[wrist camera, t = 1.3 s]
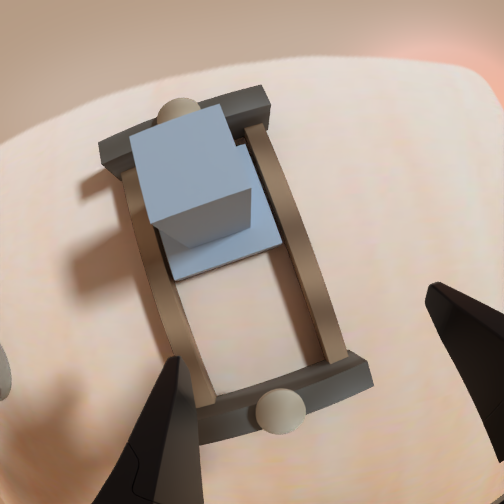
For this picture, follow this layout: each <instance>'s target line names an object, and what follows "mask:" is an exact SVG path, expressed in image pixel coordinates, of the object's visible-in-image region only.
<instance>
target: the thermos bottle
mask: <svg viewBox="0 0 504 504" xmlns="http://www.w3.org/2000/svg"><path fill="white" fill-rule="evenodd" d="M10 389H11V372H10V367H9V363H8V360H7V357H6V355H5V352H4V350H3V348H2V346H1V345H0V401H1V400H3V399H5V398H6V397H7V396H8V394H9V392H10Z"/></svg>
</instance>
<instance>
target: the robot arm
mask: <svg viewBox="0 0 504 504" xmlns="http://www.w3.org/2000/svg"><path fill="white" fill-rule="evenodd" d="M425 305H426V308H427V310H428V312H429V314H430V317H431V319H432V321H433V323H434V325H435V328H436V330H437V332H438V334H439V336H440V338H441V340H442V342H443V344H444V346H445V348H446V349H447V351H448V353H449V355H450V357H451V359H452V360H453V362H454V364H455V366H456V368H457V370H458V372H459V374H460V376H461V378H462V380H463V382H464V384H465V386H466V388H467V390H468V392H469V394H470V396H471V398H472V400H473V402H474V404H475V406H476V408H477V411H478V413H479V415H480V417H481V419H482V422H483V424H484V427H485V429H486V431H487V434H488V436H489V438H490V441H491V443H492V446H493V448H494V451H495V454H496V456H497V459H498V461H499V463H501V462H502V461H504V314H503V313H501V312H499V311H497V310H495V309H493V308H491V307H489V306H487V305H485V304H483V303H481V302H479V301H477V300H475V299H473V298H471V297H469V296H467V295H465V294H463V293H461V292H459V291H457V290H455V289H453V288H451V287H449V286H447V285H445V284H443V283H441V282H435V283H432V284H430V285H429V287H428V290H427V294H426V298H425ZM92 504H204V499H203V489H202V478H201V466H200V453H199V438H198V422H197V411H196V405H195V400H194V394H193V388H192V382H191V375H190V371H189V369H188V367H187V365H186V364H185V362H184V360H183V359H182V357H181V356H173V357H169V358H168V359H167V361H166V363H165V365H164V367H163V369H162V371H161V373H160V375H159V377H158V379H157V381H156V383H155V385H154V387H153V389H152V391H151V393H150V395H149V397H148V400H147V402H146V404H145V406H144V408H143V410H142V412H141V414H140V416H139V418H138V420H137V422H136V424H135V427H134V429H133V431H132V433H131V435H130V437H129V439H128V442H127V443H126V445H125V447H124V450H123V452H122V454H121V456H120V458H119V460H118V462H117V463H116V465H115V467H114V469H113V470H112V472H111V474H110V475H109V477H108V479H107V480H106V482H105V484H104V485H103V487H102V488H101V490H100V492H99V493H98V495H97V496H96V498H95V500H94V501H93V502H92ZM491 504H504V494H503V495H502V496H500V497H499V498H498V499H497V500H495V501H494V502H493V503H491Z"/></svg>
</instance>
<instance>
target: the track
mask: <svg viewBox="0 0 504 504" xmlns="http://www.w3.org/2000/svg"><path fill="white" fill-rule="evenodd" d="M217 104H220V106H221V109H222V111H223V114H224V116H225V119H226V121H227V124H228V127H229V129H230V132H231V134H232V137H233V140H235V139H238V138H241V137H245V139H246V141H247V144H248V146H249V149H250V151H251V154H252V157H253V159H254V162H255V164H256V167H257V169H258V172H259V175H260V177H261V180H262V182H263V185H264V188H265V190H266V193H267V196H268V198H269V201H270V203H271V206H272V209H273V211H274V214H275V217H276V220H277V222H278V225H279V228H280V230H281V233H282V236H283V239H284V241H285V244H286V247H287V250H288V252H289V255H290V258H291V261H292V264H293V266H294V269H295V272H296V275H297V278H298V281H299V283H300V286H301V289H302V292H303V295H304V298H305V301H306V304H307V306H308V309H309V312H310V315H311V318H312V321H313V324H314V327H315V330H316V333H317V336H318V339H319V342H320V345H321V348H322V351H323V354H324V357H325V360H323V361H321V362H318V363H316V364H313V365H311V366H308V367H305V368H303V369H300V370H297V371H295V372H292V373H289V374H286V375H284V376H281V377H278V378H275V379H272V380H269V381H266V382H263V383H260V384H257V385H254V386H251V387H248V388H244V389H241V390H238V391H235V392H231V393H228V394H224V395H221V396H216V393H215V391H214V389H213V386H212V384H211V381H210V379H209V376H208V374H207V371H206V369H205V366H204V364H203V361H202V358H201V356H200V353H199V351H198V348H197V345H196V343H195V340H194V337H193V334H192V332H191V329H190V326H189V323H188V321H187V318H186V315H185V312H184V309H183V306H182V303H181V300H180V297H179V294H178V291H177V288H176V285H175V282H174V279H173V276H172V273H171V270H170V267H169V263H168V260H167V257H166V254H165V250H164V247H163V244H162V240H161V237H160V234H159V230H158V228H156V227H155V226H153V225H151V224H150V221H149V217H148V213H147V210H146V206H145V202H144V198H143V194H142V190H141V186H140V182H139V178H138V174H137V170H136V165H135V161H134V156H133V152H132V147H131V143H130V138H129V136H132V135H134V134H136V133H139V132H141V131H144V130H146V129H149V128H151V127H154V126H156V125H159V124H162V123H164V122H167V121H170V120H172V119H175V118H178V117H181V116H183V115H186V114H189V113H192V112H195V111H198V110H201V109H204V108H207V107H210V106H214V105H217ZM270 108H271V103H270V101H269V99H268V97H267V95H266V93H265V91H264V89H263V87H262V85H258V86H254V87H250V88H246V89H242V90H238V91H235V92H231V93H228V94H224V95H221V96H217V97H214V98H211V99H208V100H204V101H201V102H198V103H197V102H195V101H194V100H192V99H189V98H177V99H174V100H171V101H169V102H168V103H166V104H165V105H164V106H163V107H162V108H161V109H160V111H159V113H158V116H157V117H156V118H154V119H151V120H148V121H146V122H143V123H141V124H139V125H136V126H134V127H131V128H129V129H127V130H124V131H122V132H120V133H118V134H115V135H113V136H111V137H109V138H107V139H104V140H102V141H100V142H98V145H99V152H100V158H101V164H102V165H103V166H104V167H105V168H106V169H108V170H109V171H110V172H111V173H112V174H113V175H115V176H116V177H117V178H118V179H119V180H120V181H122V182H123V187H124V191H125V195H126V200H127V204H128V208H129V212H130V216H131V220H132V224H133V228H134V232H135V236H136V239H137V243H138V247H139V250H140V254H141V257H142V261H143V264H144V267H145V271H146V274H147V277H148V281H149V284H150V287H151V290H152V293H153V296H154V299H155V302H156V305H157V308H158V311H159V314H160V317H161V320H162V323H163V326H164V329H165V332H166V334H167V337H168V340H169V342H170V345H171V348H172V351H173V353H174V356H181V357H182V359H183V360H184V362H185V364H186V365H187V367H188V369H189V371H190V375H191V382H192V388H193V394H194V400H195V405H196V411H197V422H198V438H199V446H200V445H204V444H209V443H213V442H217V441H222V440H226V439H230V438H233V437H237V436H241V435H245V434H248V433H252V432H255V431H258V430H262V429H264V430H265V431H267V432H269V433H272V434H286V433H290V432H292V431H294V430H295V429H297V428H298V427H299V426H300V425H301V424H302V422H303V421H304V418H305V415H307V414H309V413H312V412H315V411H317V410H320V409H322V408H325V407H327V406H330V405H332V404H335V403H337V402H339V401H342V400H344V399H347V398H349V397H351V396H353V395H356V394H358V393H360V392H362V391H364V390H367V389H369V388H371V387H373V386H374V384H373V380H372V376H371V373H370V369H369V366H368V362H367V361H366V360H365V359H363V358H361V357H360V356H358V355H357V354H355V353H353V352H352V351H350V350H346V346H345V343H344V340H343V337H342V334H341V330H340V327H339V324H338V321H337V318H336V315H335V312H334V309H333V306H332V303H331V300H330V297H329V294H328V291H327V288H326V285H325V282H324V279H323V277H322V274H321V271H320V268H319V265H318V262H317V260H316V257H315V254H314V251H313V248H312V246H311V243H310V240H309V238H308V235H307V232H306V229H305V227H304V224H303V221H302V219H301V216H300V214H299V211H298V208H297V206H296V203H295V201H294V198H293V196H292V193H291V190H290V188H289V185H288V183H287V180H286V178H285V175H284V173H283V171H282V168H281V166H280V163H279V161H278V158H277V156H276V154H275V151H274V149H273V146H272V144H271V142H270V139H269V137H268V135H267V132H266V130H268V125H269V116H270Z"/></svg>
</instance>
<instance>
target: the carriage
mask: <svg viewBox="0 0 504 504" xmlns="http://www.w3.org/2000/svg"><path fill="white" fill-rule="evenodd" d="M129 138H130V143H131V147H132V152H133V156H134V161H135V165H136V170H137V174H138V178H139V182H140V186H141V190H142V194H143V198H144V202H145V206H146V210H147V213H148V217H149V221H150V224H151V225H153V226H155V227H156V228H158V229H159V232H160V235H161V238H162V242H163V245H164V248H165V252H166V255H167V258H168V262H169V265H170V268H171V271H172V274H173V277H174V280H176V281H180V280H183V279H186V278H188V277H191V276H194V275H197V274H200V273H203V272H206V271H209V270H212V269H214V268H217V267H220V266H223V265H226V264H229V263H232V262H235V261H238V260H240V259H243V258H246V257H249V256H252V255H255V254H258V253H261V252H263V251H266V250H269V249H272V248H275V247H278V246H280V245H281V244H282V240H281V237H280V234H279V232H278V229H277V226H276V224H275V221H274V218H273V215H272V213H271V210H270V207H269V205H268V202H267V199H266V197H265V194H264V191H263V189H262V186H261V183H260V181H259V178H258V176H257V173H256V170H255V168H254V165H253V163H252V160H251V157H250V155H249V152H248V150H247V147H246V145H245V144H243V145H239V146H236V145H235V142H234V140H233V137H232V134H231V132H230V129H229V127H228V124H227V121H226V119H225V116H224V114H223V111H222V109H221V106H220V104H217V105H214V106H210V107H207V108H204V109H201V110H198V111H195V112H192V113H189V114H186V115H183V116H181V117H178V118H175V119H172V120H170V121H167V122H164V123H162V124H159V125H156V126H154V127H151V128H149V129H146V130H144V131H141V132H139V133H136V134H134V135H132V136H129Z"/></svg>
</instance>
